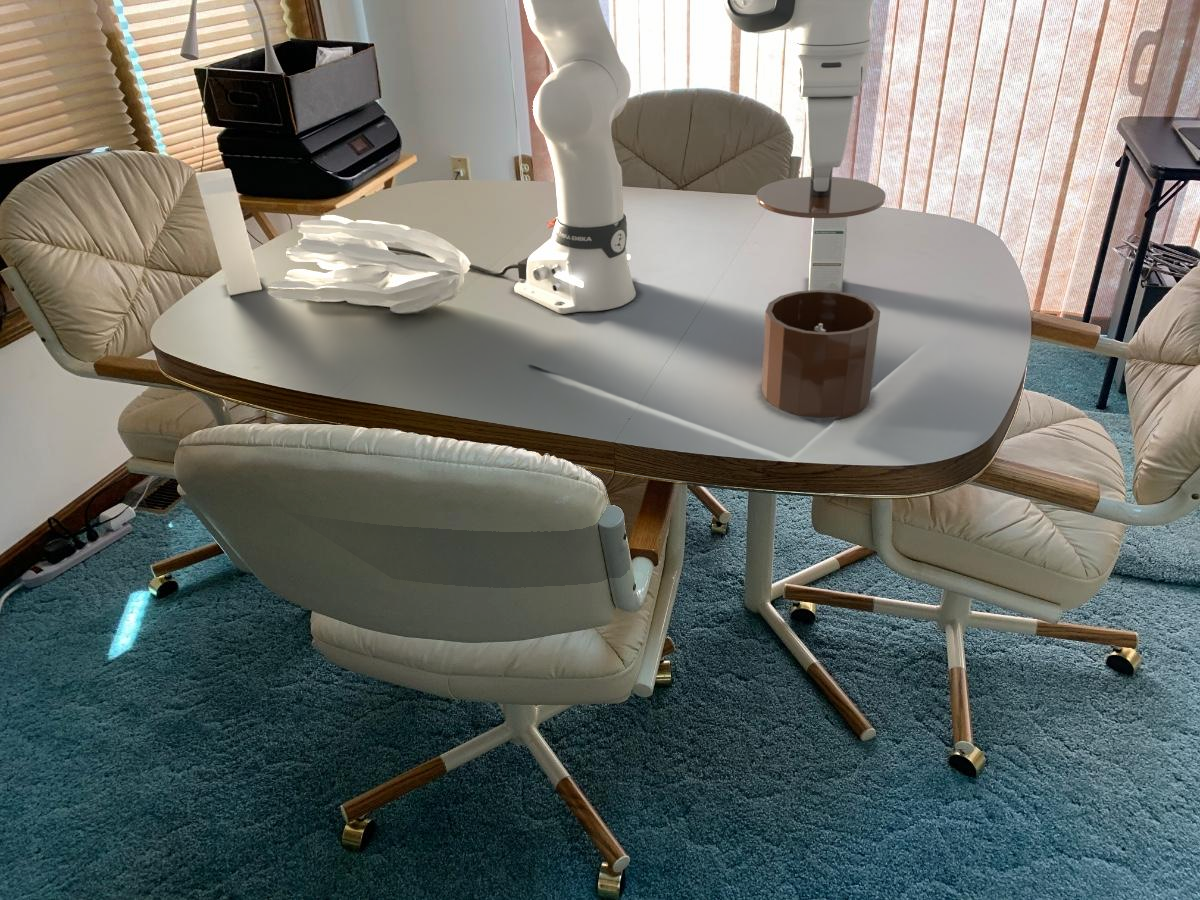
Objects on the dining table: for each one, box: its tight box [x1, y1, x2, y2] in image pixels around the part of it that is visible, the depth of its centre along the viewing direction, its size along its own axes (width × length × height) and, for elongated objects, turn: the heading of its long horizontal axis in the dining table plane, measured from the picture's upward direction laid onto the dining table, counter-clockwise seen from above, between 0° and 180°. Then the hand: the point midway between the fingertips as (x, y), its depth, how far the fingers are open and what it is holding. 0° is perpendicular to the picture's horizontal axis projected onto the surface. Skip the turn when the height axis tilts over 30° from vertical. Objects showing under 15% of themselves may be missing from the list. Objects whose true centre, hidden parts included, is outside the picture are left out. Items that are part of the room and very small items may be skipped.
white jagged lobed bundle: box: [267, 214, 471, 315], centre depth 159 cm, size 17×18×35 cm
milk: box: [195, 168, 263, 296], centre depth 168 cm, size 6×6×22 cm
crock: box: [761, 290, 881, 421], centre depth 124 cm, size 15×15×13 cm
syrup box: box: [808, 217, 848, 292], centre depth 156 cm, size 6×6×14 cm
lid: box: [755, 166, 887, 219], centre depth 114 cm, size 16×16×5 cm
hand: (820, 185), depth 114 cm, fingers closed on lid, 2 cm apart
